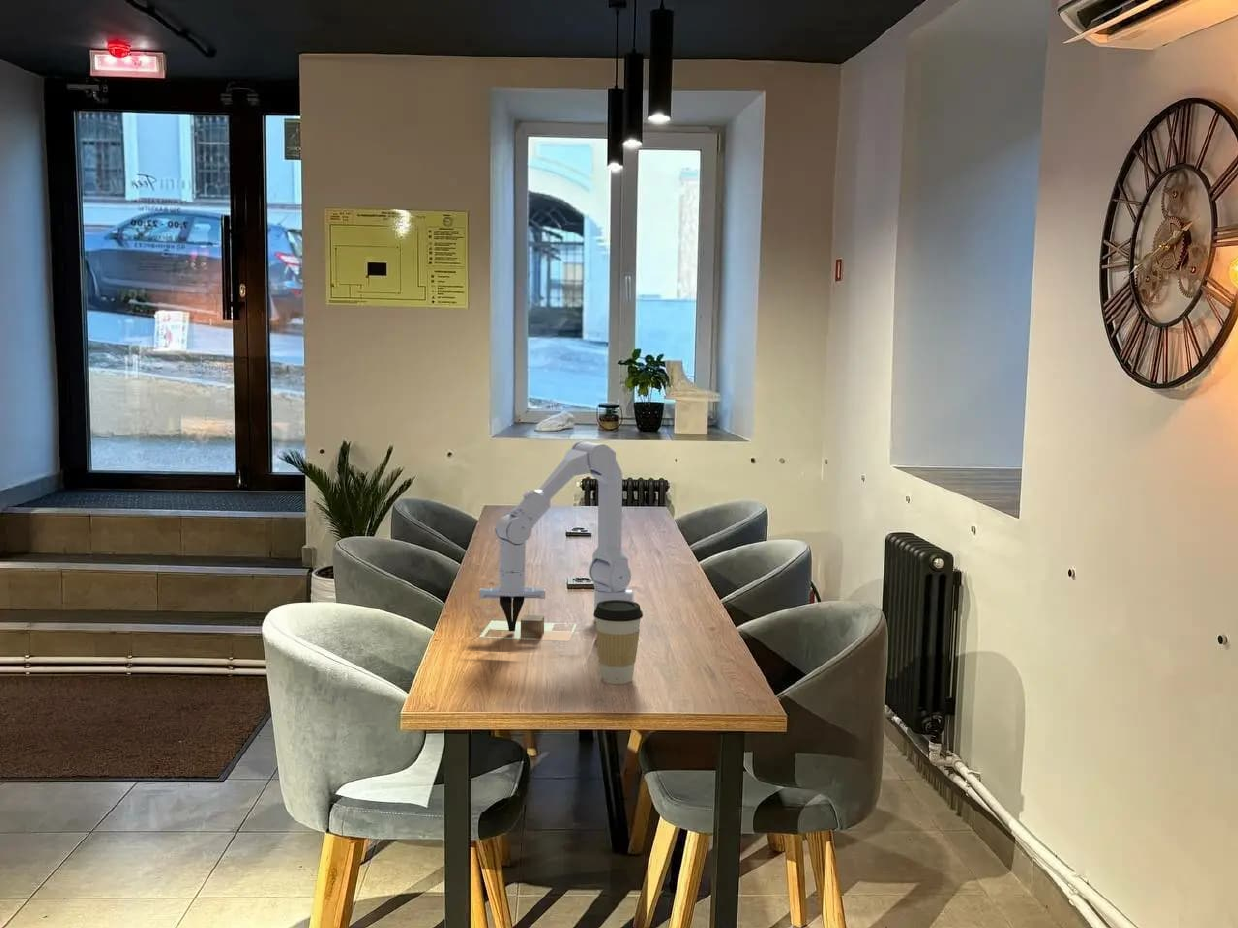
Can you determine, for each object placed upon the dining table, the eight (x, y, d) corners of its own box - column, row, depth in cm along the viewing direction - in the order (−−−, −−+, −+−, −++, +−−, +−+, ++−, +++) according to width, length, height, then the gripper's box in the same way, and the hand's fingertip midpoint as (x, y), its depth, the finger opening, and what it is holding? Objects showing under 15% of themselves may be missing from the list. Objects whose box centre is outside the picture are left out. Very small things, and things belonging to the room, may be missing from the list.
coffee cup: (640, 671, 215) (641, 599, 213) (642, 687, 205) (644, 611, 203) (591, 671, 215) (593, 598, 213) (592, 686, 205) (593, 611, 203)
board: (576, 630, 244) (576, 623, 244) (569, 647, 231) (569, 640, 230) (491, 626, 246) (491, 620, 246) (478, 643, 232) (478, 637, 232)
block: (543, 632, 236) (544, 615, 236) (540, 638, 232) (541, 620, 231) (524, 632, 237) (524, 614, 236) (520, 637, 232) (520, 619, 232)
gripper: (545, 566, 238) (545, 625, 239) (480, 565, 237) (480, 624, 238) (545, 573, 231) (544, 633, 232) (478, 572, 230) (477, 633, 231)
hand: (511, 630), depth 235 cm, fingers closed
